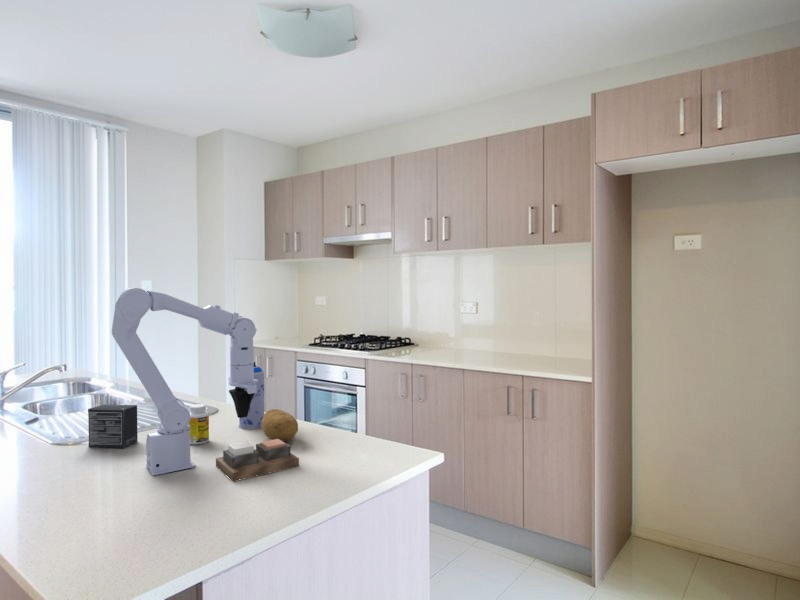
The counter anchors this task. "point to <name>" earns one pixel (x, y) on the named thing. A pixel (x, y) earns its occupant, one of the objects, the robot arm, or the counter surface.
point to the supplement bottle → (199, 424)
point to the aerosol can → (255, 404)
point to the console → (256, 462)
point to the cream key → (240, 448)
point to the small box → (112, 426)
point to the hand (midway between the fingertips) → (242, 416)
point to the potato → (279, 425)
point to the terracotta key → (272, 444)
